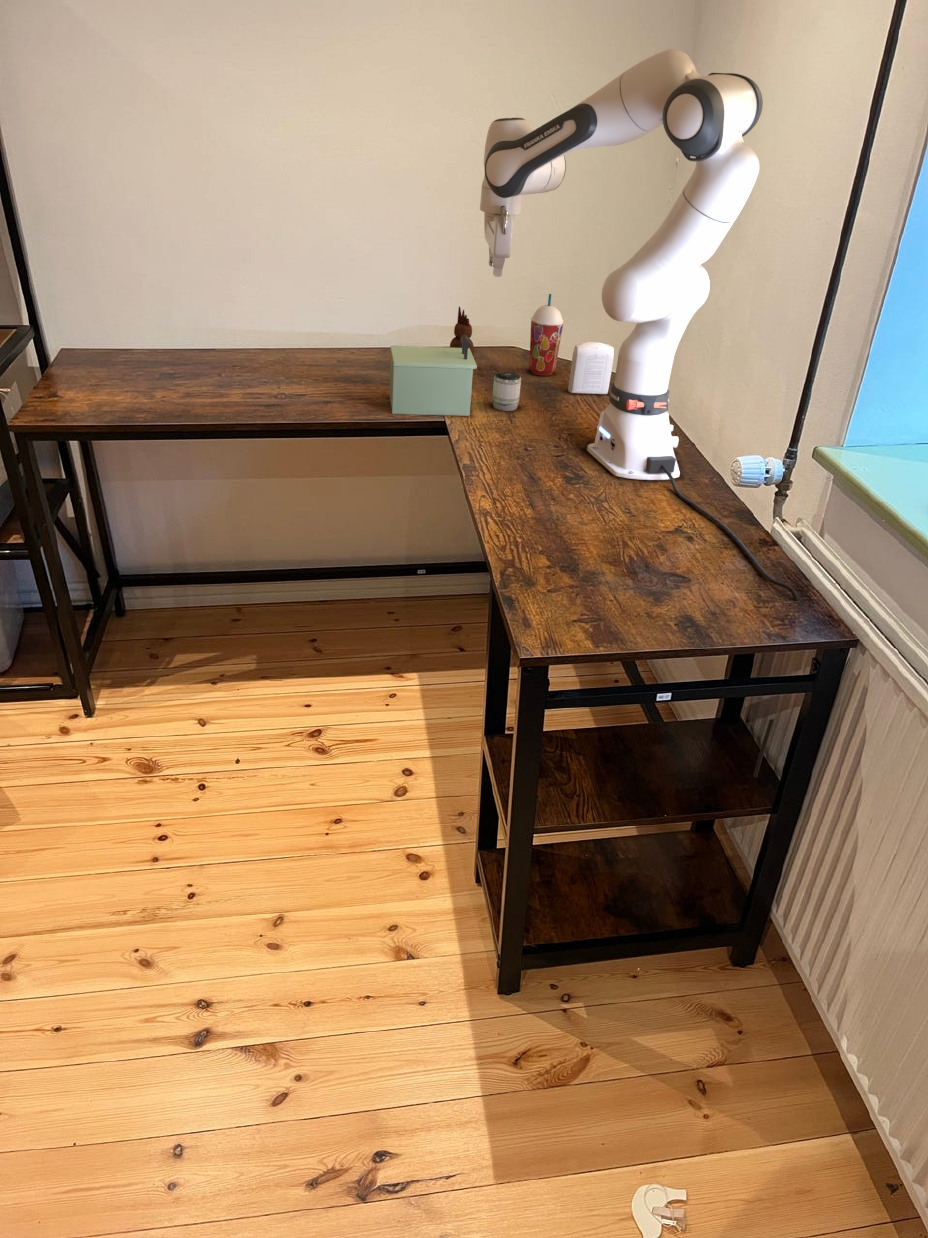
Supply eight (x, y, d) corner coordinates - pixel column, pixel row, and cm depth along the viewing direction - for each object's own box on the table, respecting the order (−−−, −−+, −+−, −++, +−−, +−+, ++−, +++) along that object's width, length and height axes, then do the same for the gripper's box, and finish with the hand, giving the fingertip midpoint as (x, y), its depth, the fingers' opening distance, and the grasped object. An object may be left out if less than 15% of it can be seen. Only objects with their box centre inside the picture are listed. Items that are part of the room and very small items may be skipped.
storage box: (462, 396, 230) (465, 351, 225) (469, 415, 219) (473, 368, 213) (389, 394, 228) (390, 348, 222) (392, 413, 216) (393, 366, 211)
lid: (469, 351, 225) (470, 329, 222) (476, 368, 213) (478, 346, 211) (390, 348, 222) (391, 326, 220) (393, 366, 211) (394, 343, 208)
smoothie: (563, 372, 252) (572, 294, 242) (548, 379, 246) (557, 299, 236) (535, 365, 256) (543, 288, 246) (520, 372, 250) (527, 293, 240)
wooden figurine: (445, 363, 252) (448, 305, 245) (465, 362, 255) (469, 304, 247) (455, 371, 247) (459, 311, 240) (476, 369, 249) (480, 310, 242)
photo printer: (605, 389, 242) (612, 340, 236) (610, 395, 239) (617, 345, 232) (566, 388, 241) (572, 339, 234) (569, 394, 237) (576, 344, 231)
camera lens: (486, 405, 226) (488, 372, 222) (506, 401, 229) (509, 368, 225) (503, 413, 222) (506, 379, 218) (523, 409, 225) (527, 375, 221)
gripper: (522, 212, 194) (515, 282, 202) (510, 196, 212) (504, 261, 219) (491, 210, 194) (485, 281, 201) (482, 193, 211) (476, 259, 218)
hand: (494, 270), depth 210 cm, fingers open, 8 cm apart
